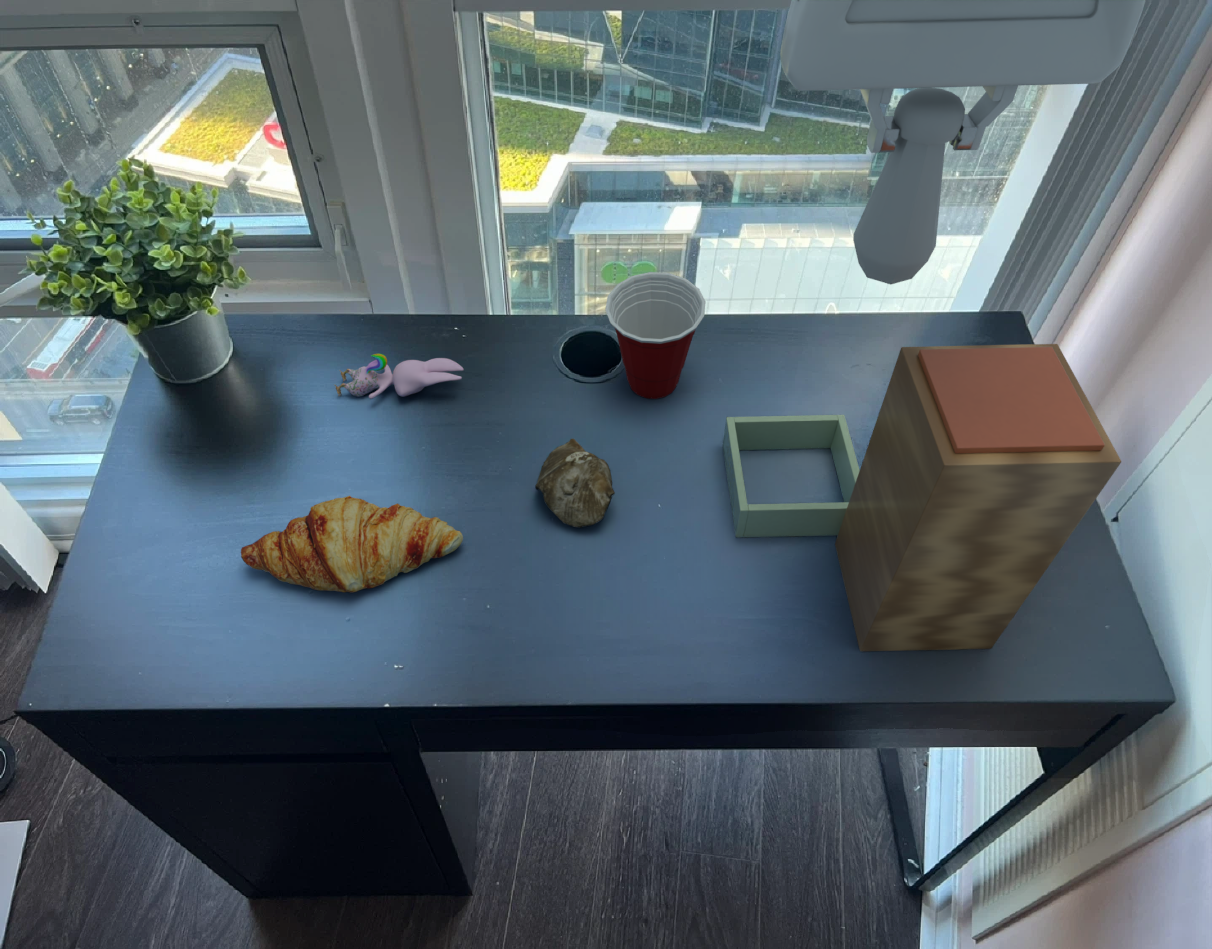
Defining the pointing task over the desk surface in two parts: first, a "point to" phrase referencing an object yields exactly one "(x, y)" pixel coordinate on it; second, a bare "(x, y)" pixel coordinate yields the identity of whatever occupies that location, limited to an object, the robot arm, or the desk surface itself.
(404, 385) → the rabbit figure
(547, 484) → the fossilized seashell
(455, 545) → the croissant
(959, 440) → the coaster
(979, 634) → the block
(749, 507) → the holder
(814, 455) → the desk surface
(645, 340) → the plastic cup
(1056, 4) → the robot arm
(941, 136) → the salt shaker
